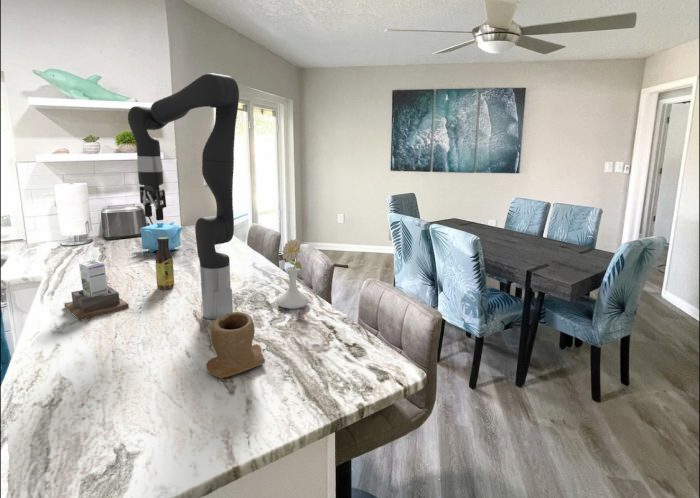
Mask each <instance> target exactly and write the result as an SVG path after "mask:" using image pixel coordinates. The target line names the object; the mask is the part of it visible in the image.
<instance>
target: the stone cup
mask: <svg viewBox="0 0 700 498" xmlns="http://www.w3.org/2000/svg"><path fill="white" fill-rule="evenodd" d="M210 329H211V330H210V332H211V333H210V337H211V342H212V346H213V348H214V351H215V353H216V355H217V356H215V357H212V358H210V359H209V360H207V362H206V363H205V367H206V370H207V372H208V373H209V374H210V375H212V376H213V377H217V378H219V379H221V378H228V377H232V376H235V375H238V374H240V373H243V372H246V371H248V370H251V369H253V368H255V367H256V368H257V367H259V366H261V365H263V364H265V363H266V361H265V357H264V355H263V352H262V347H261V345H259V344H257V343H256V344H253V340H254V337H255V323H254V321H253V318H252V316H250V315H249V314H248V313H246V312H243V311H242V312H241V311H233V312H231V313H227V314H225V315H224V316H221V317H219V318H217V319H216V320H215V319H214V321H213V323H212V325H211V328H210Z"/></svg>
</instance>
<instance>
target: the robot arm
mask: <svg viewBox="0 0 700 498" xmlns="http://www.w3.org/2000/svg"><path fill="white" fill-rule="evenodd" d="M238 85H239V84H238V83H237V82H236V80H235V79H234V78H233V77H232V76H230V75H227V74H226V75H224V74H219V73H211V72H210V73H209V72H208V73H204V74H202V75H201V76H199V77H198V78H196V79H195V80H193V81H192V82H191V83H189V84H188V85H186V86H185V87H183V88H182V89H180V90H178V91H177V92H175V93H173V94H171V95H168V96H166V97H164V98H160V99H159V100H156V101H155V102H153V103H152V104H151V107H147V106H138V105H137V106H132V107H131V108H130V109H129V110H128V113H127V122H128V125H129V128H130V130H131V133H132V136H133V139H134V141H135V143H136V157H137V158H136V160H137V161H136V164H137V165H136V166H137V177H138V178H137V179H138V185H140V186H139V199H140V204H141V205H142V206H143V208H144V209H143V210H144V216H145V217H146V218H152V216H153V209H152V206H153V205H154V206H153V207H154V210H155V219H156V221H158V222H160V221H164V209H165V208H167V202H166V201H167V200H166V191H165V189H163V188H162V189H160V186H162V185H163V184H164V172H163V171H164V170H163V162H162V157H161V145H160V140H159V139H158V138H155V137H152V136H150V134H149V131H156V130H159V129H162V128H164V127H165V126H166V125H168V124H169V123H171V122H175V121H177V120H180V119H182V118H183V117H185V116H186V115H187V114H188V113H189V112H190V111H191V110H193V109H197V108H204V107H205V108H206V107H210V108H215V120H214V124H213V128H212V131H211V132H210V134H209V136H208V137H207V138H208V139H207V141H206V142H205V145H204V147H203V150H202V155H201V156H202V157H201V159H202V160H201V163H202V165H201V170H202V171H201V173H202V176H203V179H204V182H205V183H206V185H207V186H208V188H209V189H210V191H211V193H212V195H213V197H214V199H215V204H216V214H215V215H210V216H203V217H200V218H198V219H197V220H196V222H195V226H194V227H195V228H194V231H195V233H194V234H195V240H196V249H197V250H196V252H197V257H198V260H199V268H200V270H199V271H200V287H201V290H200V291H201V303H202V304H201V307H202V316H203V318H205V319H207V320H208V319H209V320H214V321H215V320H216V319H217V318H219V317H221V316H224V315H225V314H227V313H231V312H234V308H233V307H234V305H233V289H232V288H231V264H230V263H231V262H230V256H229V255H228V254H226V253H223V252H217V250H216V245H221V244H226V243H229V242H231V241H232V240H233V237H234V234H235V233H234V231H235V222H234V221H235V220H234V219H235V217H234V205H233V204H234V203H233V201H234V200H233V198H234V197H233V189H234V188H233V186H234V185H233V184H234V181H233V180H234V165H235V161H234V160H235V154H234V153H235V136H236V124H237V118H238V117H237V116H238V109H239V104H240V103H239V101H240V89H239V86H238Z"/></svg>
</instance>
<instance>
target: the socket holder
mask: <svg viewBox="0 0 700 498" xmlns="http://www.w3.org/2000/svg"><path fill="white" fill-rule="evenodd" d="M107 288H108V294H104V295H99V296H95V297H90V298H85V297H84V295H83V289H81V290H75V291H71V300H72V301H69V302H64V308H65V307H66V308H67V309H68V310H69V311H70V312H69V311H68V310H67V309H66V308H65V309H66V310H67V311H68V312H69V313H71V314H72V313H73V314H74V315H75V316H76V317H77V318H76V317H75V316H74V315H73V314H72V315H73V316H74V317H75V318H76V319H78V320H79V321H82V320H81V319H83V320H86V319H85V318H87V319H91V318H94V317H97V316H98V317H99V316H103V315H106V314H111V313H115V312H119V311H123V310H125V309H129V305H130V304H129V303H127V301H125V300H123V299H121V297H120V293H119V292H118V291H117V290H115V289H114V288H112V287H111V286H109V285H107ZM90 317H91V318H90Z"/></svg>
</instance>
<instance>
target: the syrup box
mask: <svg viewBox="0 0 700 498" xmlns="http://www.w3.org/2000/svg"><path fill="white" fill-rule="evenodd" d="M78 266H79V273H80V279H81V280H80V281H81V285H82V286H81V287H82V290H83V295H84V297H85V298H90V297H95V296H99V295H104V294H108V288H107V286H108V282H107V281H108V280H107V273H106V267H105V262H101V261H99V260H96V259H95V260H87V261H84V262H80V263H79V265H78Z"/></svg>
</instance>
